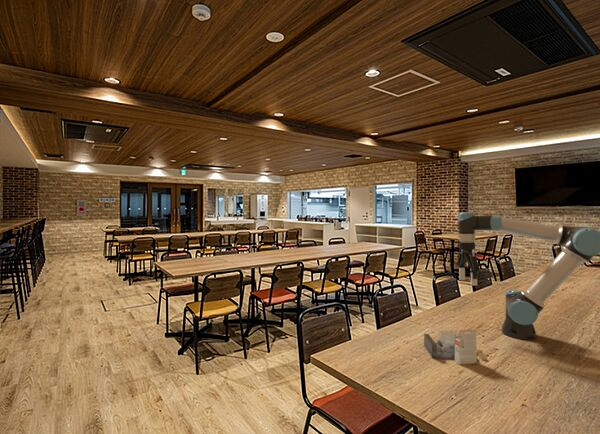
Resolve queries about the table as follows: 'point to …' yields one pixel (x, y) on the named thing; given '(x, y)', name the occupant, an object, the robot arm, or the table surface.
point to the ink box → (466, 347)
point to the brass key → (481, 355)
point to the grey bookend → (436, 349)
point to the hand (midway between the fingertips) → (468, 282)
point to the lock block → (448, 340)
